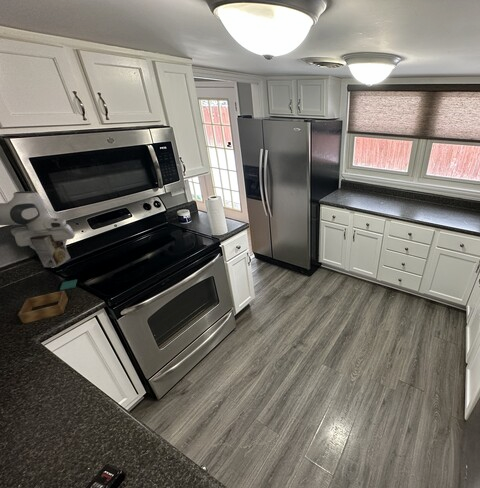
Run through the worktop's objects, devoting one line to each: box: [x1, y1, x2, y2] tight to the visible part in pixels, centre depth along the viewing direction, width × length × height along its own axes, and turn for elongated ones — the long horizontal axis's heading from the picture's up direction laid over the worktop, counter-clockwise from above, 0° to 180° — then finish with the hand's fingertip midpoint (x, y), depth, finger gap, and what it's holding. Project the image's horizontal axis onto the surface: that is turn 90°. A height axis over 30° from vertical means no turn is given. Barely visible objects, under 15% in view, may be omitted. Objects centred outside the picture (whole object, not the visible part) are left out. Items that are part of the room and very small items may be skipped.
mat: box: [59, 279, 78, 291], centre depth 141 cm, size 6×8×1 cm
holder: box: [17, 290, 69, 324], centre depth 122 cm, size 13×13×5 cm
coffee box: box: [30, 235, 71, 268], centre depth 132 cm, size 9×6×16 cm
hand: (52, 249), depth 132 cm, fingers closed on coffee box, 8 cm apart
